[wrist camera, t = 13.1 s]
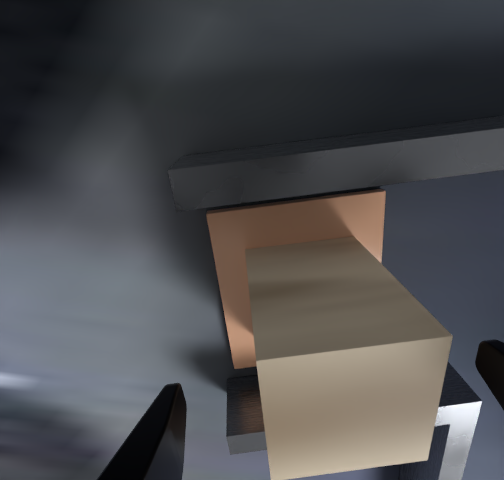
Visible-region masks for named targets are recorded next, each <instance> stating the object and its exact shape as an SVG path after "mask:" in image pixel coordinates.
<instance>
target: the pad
mask: <svg viewBox="0 0 504 480" xmlns="http://www.w3.org/2000/svg"><path fill="white" fill-rule="evenodd" d="M385 197H386V191H385V190H383V189H375V190H368V191H360V192H352V193H344V194H336V195H328V196H321V197H313V198H305V199H297V200H289V201H282V202H274V203H266V204H258V205H250V206H242V207H235V208H227V209H219V210H211V211H207V213H206V216H207V221H208V227H209V232H210V238H211V243H212V249H213V254H214V260H215V265H216V271H217V276H218V282H219V287H220V293H221V298H222V304H223V309H224V315H225V320H226V326H227V331H228V337H229V342H230V348H231V353H232V359H233V364H234V369H240V368H248V367H255V366H257V364H256V355H255V345H254V336H253V326H252V316H251V306H250V296H249V286H248V276H247V266H246V256H245V249H252V248H260V247H268V246H277V245H285V244H293V243H302V242H310V241H318V240H327V239H335V238H344V237H352V236H354V237H355V238H356V239H357V240H358V241H359V242H360V243H361V244H362V245H363V246H364V247H365V248H366V249H367V250H368V251H369V252H370V253H371V254H372V255H373V256H374V257H375V258H376V259H377V260H378V261H379V262H380V263H381V260H382V244H383V229H384V213H385Z"/></svg>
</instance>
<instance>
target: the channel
mask: <svg viewBox="0 0 504 480" xmlns="http://www.w3.org/2000/svg"><path fill="white" fill-rule="evenodd" d="M498 170H504V116H498V117H490V118H482V119H474V120H466V121H458V122H450V123H442V124H434V125H426V126H418V127H410V128H402V129H394V130H386V131H378V132H370V133H362V134H354V135H346V136H338V137H330V138H322V139H314V140H306V141H298V142H290V143H282V144H274V145H266V146H258V147H250V148H242V149H234V150H226V151H218V152H210V153H202V154H194V155H186V156H182V157H181V158H180V159H179V160H178V161H177V162H176V163H175V164H174V165H173V166H172V167H170V168H169V169H168V170H167V171H168V175H169V180H170V184H171V189H172V193H173V198H174V202H175V207H176V211H185V210H193V209H201V208H209V207H217V206H224V205H232V204H240V203H248V202H256V201H264V200H271V199H279V198H287V197H295V196H303V195H310V194H318V193H326V192H334V191H342V190H350V189H357V188H365V187H373V186H381V185H389V184H397V183H404V182H412V181H420V180H428V179H436V178H444V177H451V176H459V175H467V174H475V173H483V172H491V171H498ZM481 404H482V400H481V399H480V398H479V397H478V396H477V395H476V393H475V392H474V391H473V390H472V389H471V388H470V386H469V385H468V384H467V383H466V382H465V381H464V380H463V378H462V377H461V376H460V375H459V374H458V373H457V372H456V370H455V369H454V368H453V367H452V366H451V365H450V363H449V362H447V367H446V372H445V377H444V382H443V387H442V392H441V397H440V402H439V406H438V411H437V416H436V421H435V426H434V431H433V436H432V441H431V446H430V451H429V456H428V460H426V461H419V462H411V463H404V464H401V467H400V474H399V480H461V479H462V475H463V472H464V468H465V464H466V460H467V457H468V453H469V449H470V445H471V442H472V438H473V434H474V430H475V426H476V423H477V419H478V415H479V411H480V408H481ZM226 437H227V441H228V446H229V450H230V455H232V454H239V453H247V452H254V451H261V450H267V443H266V435H265V427H264V420H263V412H262V404H261V396H260V388H259V380H258V375H253V376H246V377H239V378H231V379H227V435H226Z"/></svg>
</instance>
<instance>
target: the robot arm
mask: <svg viewBox="0 0 504 480" xmlns="http://www.w3.org/2000/svg"><path fill="white" fill-rule="evenodd" d="M475 364H476V368H477V370H478V372H479V373H480V375H481V376H482V378H483V379H484V381H485V382H486V384H487V385H488V387H489V388H490V390H491V392H492V393H493V395H494V396H495V398H496V399H497V401H498V402H499V404H500V405H501V407H502V409H503V410H504V343H503V342H501V341H498V340H487V341H482V342H481V343H480V344H479V348H478V352H477V356H476V361H475ZM186 411H187V408H186V401H185V397H184V394H183V390H182V387H181V385H180V383H174V384H167V385H166V386H165V387H164V388H163V389H162V391H161V392H160V393H159V395H158V396H157V397H156V399H155V400H154V402H153V403H152V404H151V406H150V407H149V408H148V410H147V411H146V413H145V414H144V415H143V417H142V418H141V419H140V421H139V422H138V424H137V425H136V426H135V428H134V429H133V430H132V432H131V433H130V435H129V436H128V437H127V439H126V440H125V441H124V443H123V444H122V446H121V447H120V448H119V450H118V451H117V452H116V454H115V455H114V457H113V458H112V459H111V461H110V462H109V463H108V465H107V466H106V468H105V469H104V470H103V472H102V473H101V474H100V476H99V477H98V479H97V480H182V473H183V464H184V447H185V429H186Z"/></svg>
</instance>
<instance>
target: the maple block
mask: <svg viewBox="0 0 504 480" xmlns="http://www.w3.org/2000/svg"><path fill="white" fill-rule="evenodd" d="M245 256H246V266H247V276H248V286H249V296H250V306H251V316H252V326H253V336H254V345H255V355H256V364H257V372H258V380H259V388H260V396H261V404H262V412H263V420H264V427H265V435H266V443H267V451H268V459H269V467H270V475H271V480H285V479H293V478H300V477H307V476H315V475H322V474H330V473H337V472H345V471H352V470H359V469H367V468H374V467H382V466H389V465H397V464H404V463H411V462H419V461H426V460H428V456H429V451H430V446H431V441H432V436H433V431H434V426H435V421H436V416H437V411H438V406H439V402H440V397H441V392H442V387H443V382H444V377H445V372H446V367H447V362H448V357H449V352H450V347H451V342H452V337H453V336H452V335H451V334H450V333H449V332H448V331H447V330H446V329H445V328H444V327H443V326H442V325H441V324H440V323H439V322H438V321H437V320H436V319H435V318H434V317H433V316H432V314H431V313H430V312H429V311H428V310H427V309H426V308H425V307H424V306H423V305H422V304H421V303H420V302H419V301H418V300H417V299H416V298H415V297H414V296H413V295H412V294H411V293H410V292H409V291H408V290H407V289H406V288H405V287H404V286H403V285H402V284H401V283H400V282H399V281H398V280H397V279H396V278H395V277H394V276H393V275H392V274H391V273H390V272H389V271H388V270H387V269H386V268H385V267H384V266H383V265H382V264H381V263H380V262H379V261H378V260H377V259H376V258H375V257H374V256H373V255H372V254H371V253H370V252H369V251H368V250H367V249H366V248H365V247H364V246H363V245H362V244H361V243H360V242H359V241H358V240H357V239H356V238H355V237H354V236H352V237H344V238H335V239H327V240H318V241H310V242H302V243H293V244H285V245H277V246H268V247H260V248H252V249H245Z"/></svg>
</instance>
